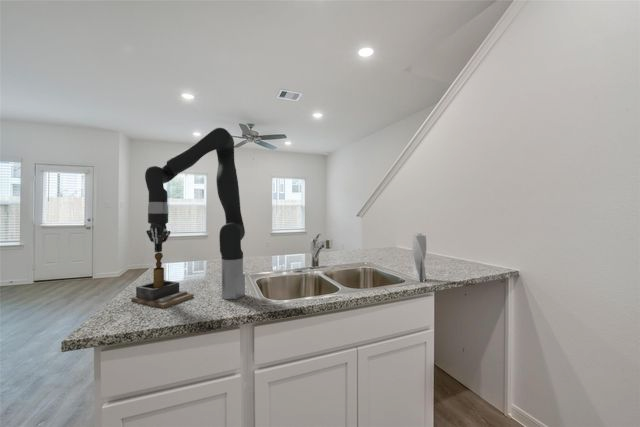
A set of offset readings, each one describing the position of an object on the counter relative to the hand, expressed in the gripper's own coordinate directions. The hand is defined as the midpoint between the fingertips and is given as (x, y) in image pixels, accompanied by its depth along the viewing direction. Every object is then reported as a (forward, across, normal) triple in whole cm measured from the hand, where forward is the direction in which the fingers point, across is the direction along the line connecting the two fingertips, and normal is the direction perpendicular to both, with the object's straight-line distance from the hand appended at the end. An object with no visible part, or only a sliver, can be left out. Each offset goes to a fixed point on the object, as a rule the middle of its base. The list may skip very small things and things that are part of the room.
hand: (158, 251), depth 111 cm
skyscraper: (+21, -105, -79) cm, 133 cm away
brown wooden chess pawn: (+19, 0, 0) cm, 19 cm away
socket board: (+20, -3, 0) cm, 21 cm away
